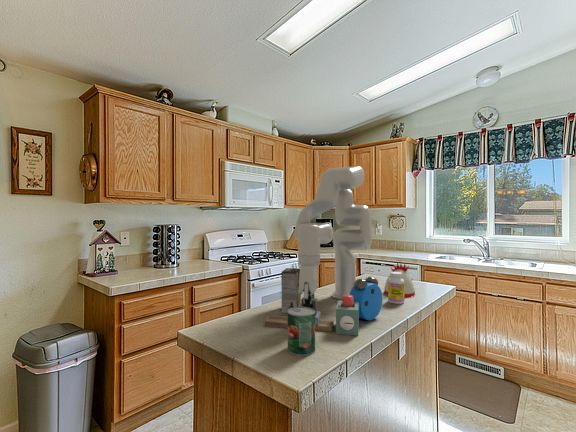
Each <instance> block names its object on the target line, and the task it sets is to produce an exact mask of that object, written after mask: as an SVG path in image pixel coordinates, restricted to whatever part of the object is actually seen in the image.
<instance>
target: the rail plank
mask: <svg viewBox="0 0 576 432" xmlns="http://www.w3.org/2000/svg"><path fill="white" fill-rule="evenodd" d="M287 317H288V315H276V314H275V315H274V314H270V315H269V316H268V317H267V318H266V319H265V320H264V326H265V327H276V328H286V329H288V318H287ZM334 324H335V321H334V319H326V318H324V319H323V318H321V319H320V321H319V324H318V325H315V331H322V332H330V333H331V332H332V331H333V328H334Z"/></svg>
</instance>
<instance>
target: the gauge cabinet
mask: <svg viewBox="0 0 576 432" xmlns="http://www.w3.org/2000/svg"><path fill="white" fill-rule="evenodd" d="M359 319H360V318H359V302H357V301H353V307H342V300H341V299H337V304H336V307H335V334H336V335H347V336H359V326H360V322H359V321H360V320H359Z"/></svg>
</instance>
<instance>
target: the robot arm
mask: <svg viewBox="0 0 576 432" xmlns="http://www.w3.org/2000/svg"><path fill="white" fill-rule="evenodd" d="M365 178H366V177H365V171H364V169H363V167H361V166H359V165H358V166H354V165H353V166H344V167H343V166H342V167H331V168H329V169H327V170H325V171H323V172H322V173H321V176H320V180H319V183H318V184H319V185H318V188H317V190H316V194H315V197H314V199H313V200H311V201H310V202H309V203H308V204H307V205H306V206H304V208H302V210H301V211H300V212H299V214H298V216H297V220H296V223H295V228H294V238H295V240H296V241H297V250H298V251H297V261H298V262H297V264H298V265H299V266H300V267H299V268H300V274H299V294H300V295H301V296H302V294H303V298H304V303H303V307H308V308H312V309H313V304H312V298H315V292H316V291H317V288H318V266H319V265H321V245H326V244H329V243H330V242H332V243H333V247H334V248H333V249H334V282H335V283H334V291H332V293H331V297H332V298H333V299H336V300H341V301H342V295H350V291H351V289H352V287H353V286H354V282H355V281H356V280H357V267H356V266H357V260H356V256H355V255H354V253H353V250H354V251H356V250H357V251H367V250H369V249H370V248H371V247H372V243H373V238H372V237H373V236H372V234H373V233H372V214H371V210H370V208H369V206H368V205H364V204H355V203H354V194H353V191H352V190H354V189H357V188H359V187H361V186H362V185H363V184H364V181H365ZM333 209H334V213H335V214H334V215H335V217H334V218H335V222H336V224H337V225H339V226H341V227H342V226H343V227H359V228H338V229H336V230H335V231H334V227H332V225H331V224H329V223H326V222H310V221H311V220H313V219H314V218H316V217H317V216H319V215H321V214H323V213H326V212H329V211H330V210H333Z"/></svg>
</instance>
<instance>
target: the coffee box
mask: <svg viewBox="0 0 576 432" xmlns="http://www.w3.org/2000/svg"><path fill="white" fill-rule="evenodd" d="M299 274H300V267H299V268H291V267H287V268H285V269H283V270H282V271H281V274H280V275H281V277H280V279H281V313H283V314H288V312H287V311H288V309H290V308H293V307H301V299H302V297H301V296H302V294H301V295H300V294H299Z"/></svg>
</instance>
